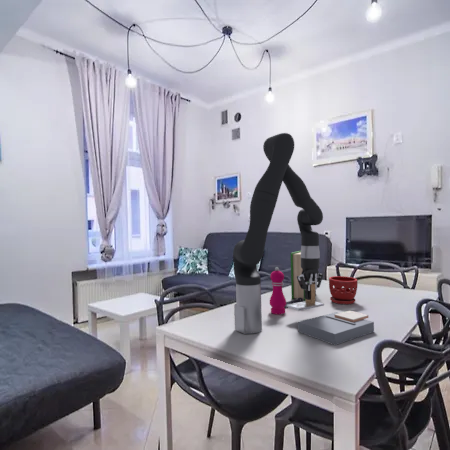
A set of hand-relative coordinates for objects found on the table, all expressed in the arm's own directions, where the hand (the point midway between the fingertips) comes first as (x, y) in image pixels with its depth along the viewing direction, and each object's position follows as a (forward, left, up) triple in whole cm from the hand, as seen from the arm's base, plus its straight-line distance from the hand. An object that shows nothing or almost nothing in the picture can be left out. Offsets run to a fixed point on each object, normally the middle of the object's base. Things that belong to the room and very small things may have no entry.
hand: (310, 298), depth 130 cm
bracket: (+11, +24, -9) cm, 28 cm away
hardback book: (+27, +30, -8) cm, 41 cm away
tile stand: (-5, -16, -8) cm, 19 cm away
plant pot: (+32, +9, -8) cm, 35 cm away
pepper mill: (-5, +15, -8) cm, 17 cm away
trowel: (-3, 0, -2) cm, 4 cm away
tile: (+4, -16, -4) cm, 17 cm away
